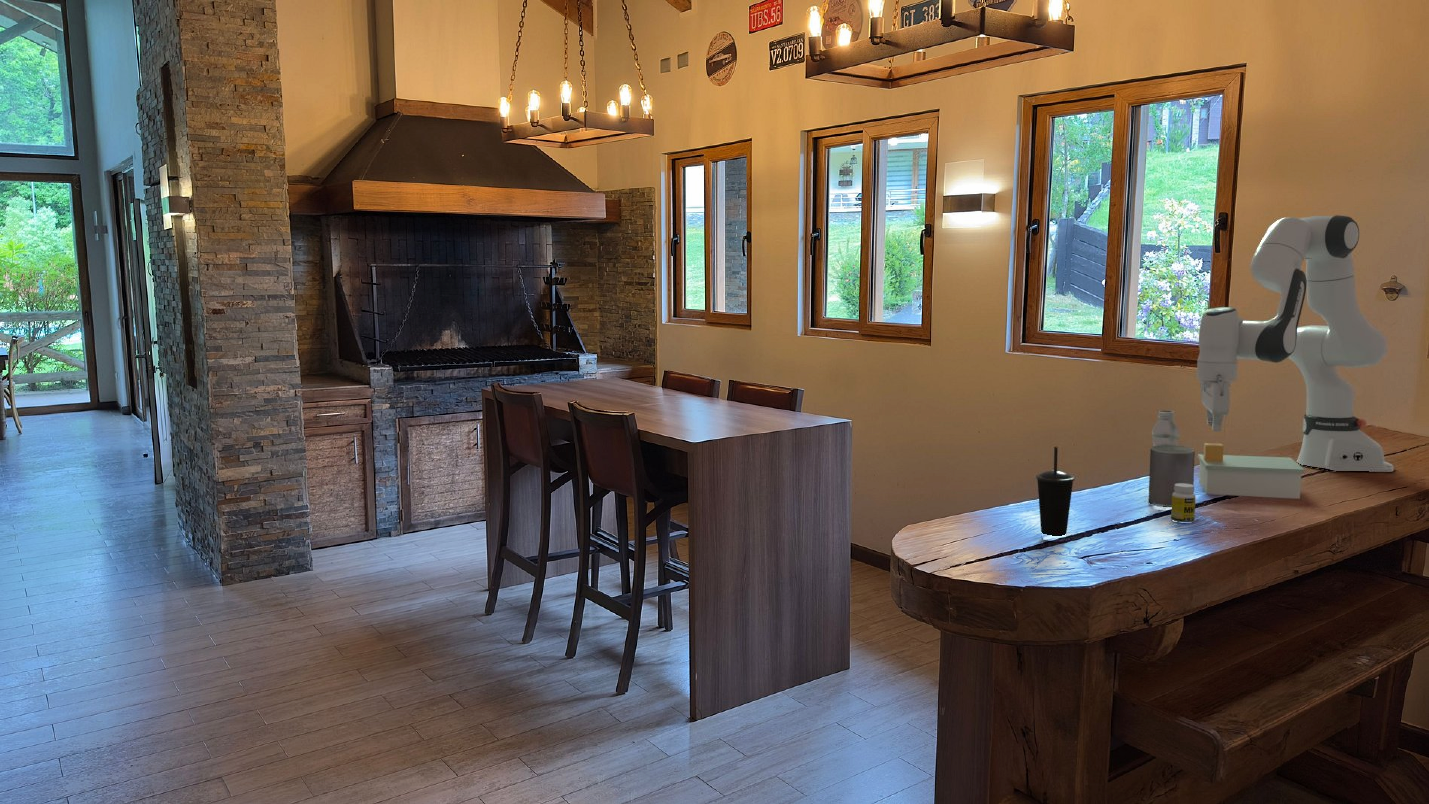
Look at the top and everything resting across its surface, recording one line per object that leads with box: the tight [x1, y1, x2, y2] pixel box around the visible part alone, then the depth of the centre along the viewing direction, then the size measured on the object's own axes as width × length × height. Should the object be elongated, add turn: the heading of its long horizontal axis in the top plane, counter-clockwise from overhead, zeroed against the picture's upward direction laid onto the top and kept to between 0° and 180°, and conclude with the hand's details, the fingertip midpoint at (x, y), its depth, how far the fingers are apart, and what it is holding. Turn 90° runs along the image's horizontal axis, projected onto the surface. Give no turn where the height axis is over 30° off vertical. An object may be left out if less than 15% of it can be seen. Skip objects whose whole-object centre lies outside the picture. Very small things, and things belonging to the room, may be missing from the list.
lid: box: [1197, 442, 1305, 475], centre depth 236 cm, size 21×15×6 cm
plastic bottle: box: [1151, 409, 1180, 447], centre depth 243 cm, size 6×7×20 cm
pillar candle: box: [1147, 443, 1196, 507], centre depth 227 cm, size 10×10×15 cm
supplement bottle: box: [1170, 483, 1197, 523], centre depth 212 cm, size 5×5×8 cm
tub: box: [1198, 461, 1302, 500], centre depth 237 cm, size 20×14×7 cm
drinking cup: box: [1035, 446, 1076, 536], centre depth 200 cm, size 8×8×20 cm
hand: (1213, 428), depth 238 cm, fingers open, 8 cm apart
